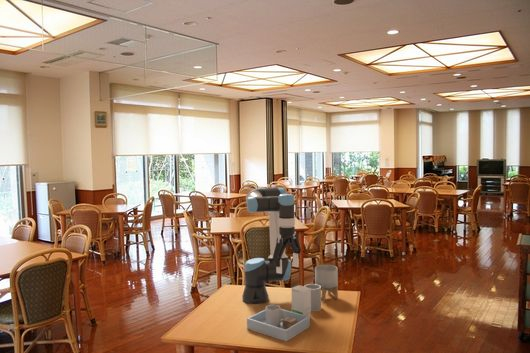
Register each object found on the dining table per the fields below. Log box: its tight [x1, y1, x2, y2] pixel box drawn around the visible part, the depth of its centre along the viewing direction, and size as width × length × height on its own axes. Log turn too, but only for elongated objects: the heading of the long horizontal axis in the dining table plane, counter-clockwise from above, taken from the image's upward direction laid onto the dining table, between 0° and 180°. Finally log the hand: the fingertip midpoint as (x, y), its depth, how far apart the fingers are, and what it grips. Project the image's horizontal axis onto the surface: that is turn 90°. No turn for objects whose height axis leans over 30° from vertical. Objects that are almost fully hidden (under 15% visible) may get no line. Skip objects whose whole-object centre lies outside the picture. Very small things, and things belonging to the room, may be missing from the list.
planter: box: [314, 264, 339, 302], centre depth 249 cm, size 13×13×18 cm
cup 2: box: [304, 283, 322, 312], centre depth 234 cm, size 9×9×12 cm
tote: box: [246, 308, 311, 342], centre depth 210 cm, size 20×24×5 cm
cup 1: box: [265, 304, 286, 327], centre depth 211 cm, size 7×10×9 cm
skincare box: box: [290, 284, 312, 318], centre depth 222 cm, size 8×7×16 cm
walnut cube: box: [282, 316, 297, 330], centre depth 206 cm, size 5×5×5 cm
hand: (287, 269), depth 208 cm, fingers open, 13 cm apart
